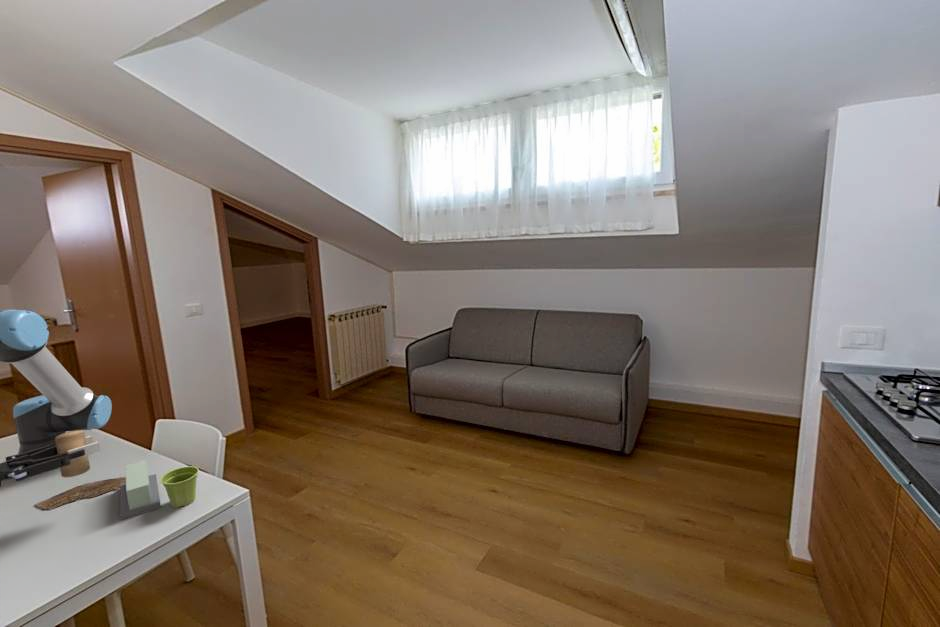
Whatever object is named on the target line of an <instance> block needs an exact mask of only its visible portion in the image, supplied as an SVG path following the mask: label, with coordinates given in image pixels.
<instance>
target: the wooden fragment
mask: <svg viewBox="0 0 940 627" xmlns="http://www.w3.org/2000/svg"><path fill="white" fill-rule="evenodd" d="M122 483H126V476H123V477H118V478H117V477H115V478H109V479H108V478H107V479H103V480H98V481H93V482H87V483H84V484H81V485H80V484H79V485H78V486H75V487H72V488H70V489H67V490H66V491H63V492H61V493H58V494H56V495H53V496H51V497H49V498H47V499H44V500H41V501H39V502H36V503H34V505H33V507H35V506H36V507H35V508H36V509H37V508H39V509H38V510H43V511H46V510H45V509H48V511H51V510H53V509H55V508H57V507H60V506H64V505H66V504H70V503H75V502H76V501H79V499H80V500H83V499H89V498H94V497H98V496H100V495H103V494H106V493H108V492H112V491H116V490H117V491H118V490H119V489H121V484H122ZM40 508H42V509H40ZM52 508H53V509H52ZM50 509H51V510H50Z"/></svg>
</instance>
